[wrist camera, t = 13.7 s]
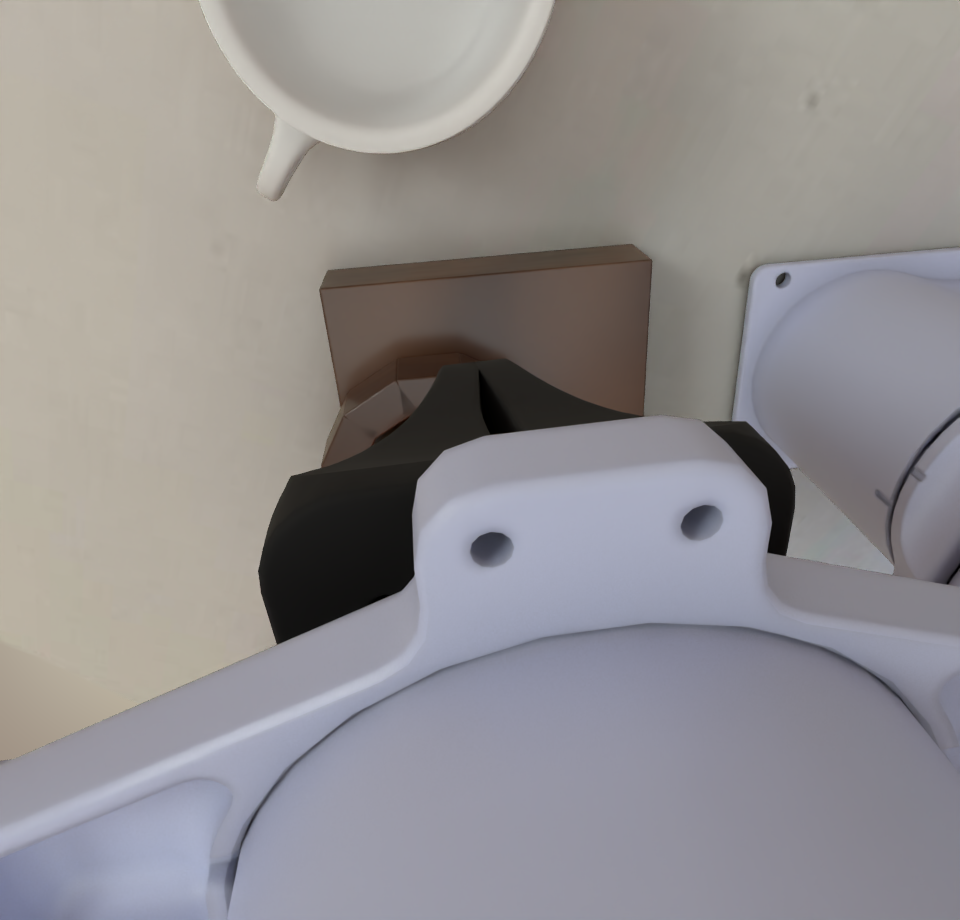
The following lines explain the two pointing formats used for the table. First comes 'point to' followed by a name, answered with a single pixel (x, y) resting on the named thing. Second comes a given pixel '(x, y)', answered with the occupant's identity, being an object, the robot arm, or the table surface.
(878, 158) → the table surface
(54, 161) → the table surface
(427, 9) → the teacup
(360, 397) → the button box
